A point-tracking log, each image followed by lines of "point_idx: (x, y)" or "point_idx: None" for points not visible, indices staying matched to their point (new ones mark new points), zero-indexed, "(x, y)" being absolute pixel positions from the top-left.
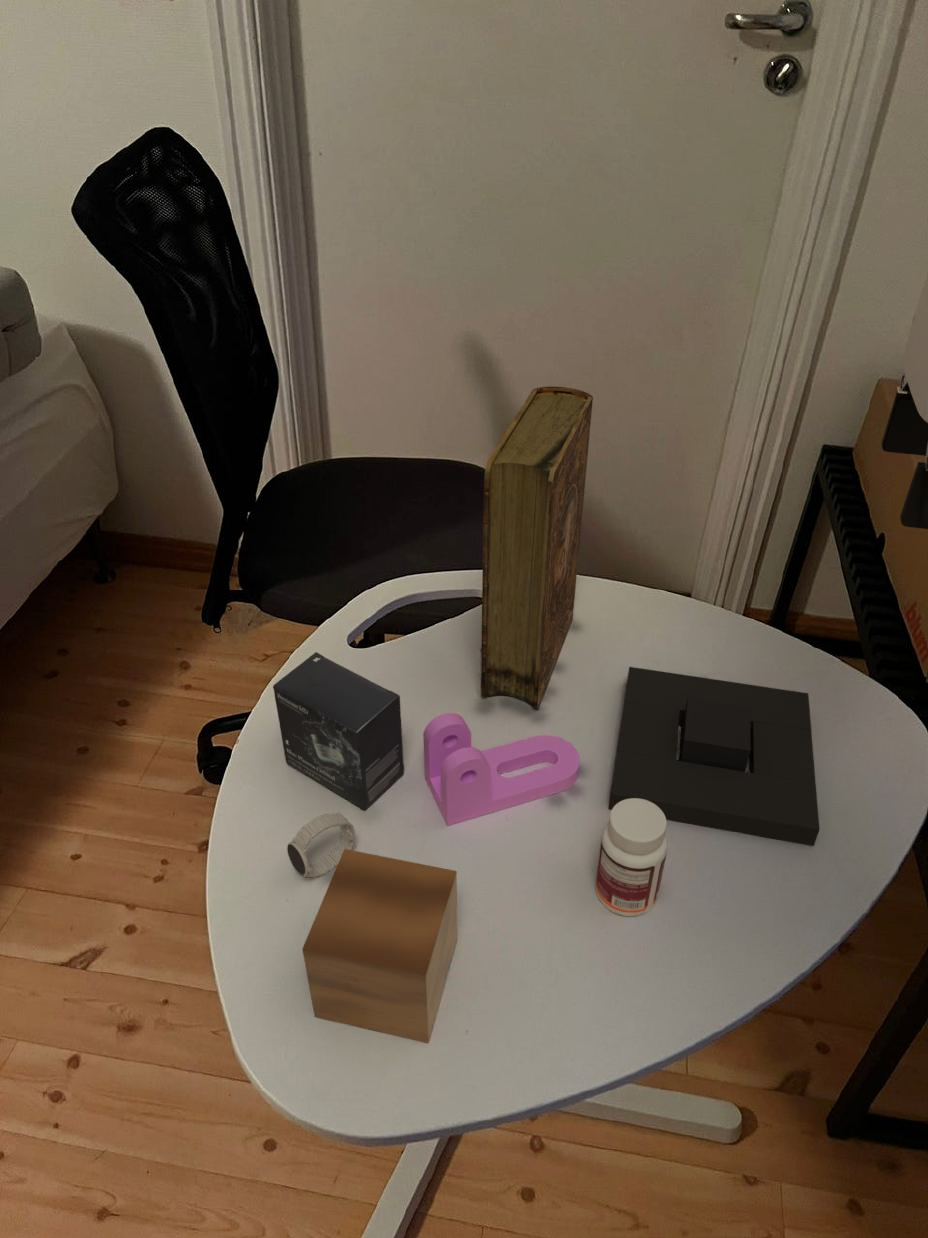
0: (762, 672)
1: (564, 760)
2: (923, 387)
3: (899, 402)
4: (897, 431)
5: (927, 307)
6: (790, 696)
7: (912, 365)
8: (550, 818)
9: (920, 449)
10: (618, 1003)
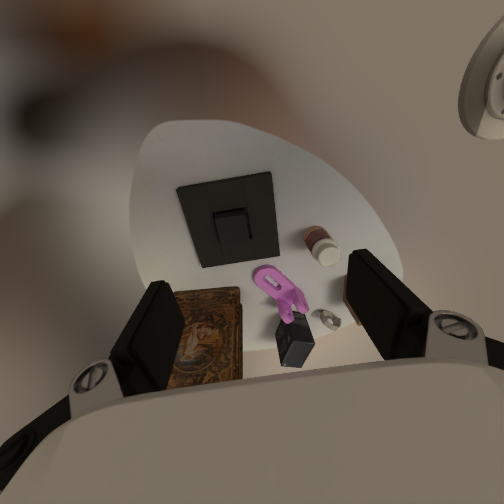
0: (161, 210)
1: (265, 273)
2: None
3: (166, 386)
4: (175, 338)
5: None
6: (183, 198)
7: None
8: (289, 266)
9: (170, 296)
10: (359, 227)
